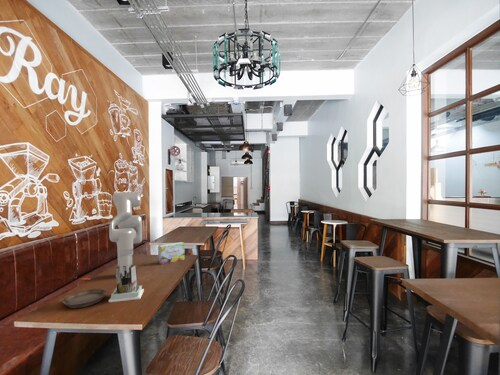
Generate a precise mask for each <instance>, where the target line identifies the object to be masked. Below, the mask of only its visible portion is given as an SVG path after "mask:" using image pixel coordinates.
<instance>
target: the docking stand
mask: <svg viewBox="0 0 500 375" xmlns="http://www.w3.org/2000/svg"><path fill="white" fill-rule="evenodd" d="M142 287H143V285H137V292H131V293H121V294H117V287H116V288H115V289H114V291H113V292H112V293H111V294H110V298H109V299H108V303H117V302H127V301H134V300H141V297H142V296H143V293H144V292H145V288H142Z"/></svg>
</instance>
